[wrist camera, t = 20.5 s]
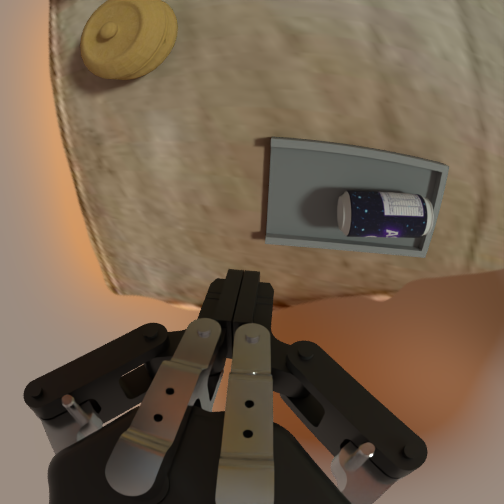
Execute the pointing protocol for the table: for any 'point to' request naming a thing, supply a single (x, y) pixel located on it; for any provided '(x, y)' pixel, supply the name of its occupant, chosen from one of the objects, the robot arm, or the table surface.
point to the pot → (128, 38)
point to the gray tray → (342, 192)
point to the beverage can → (384, 214)
